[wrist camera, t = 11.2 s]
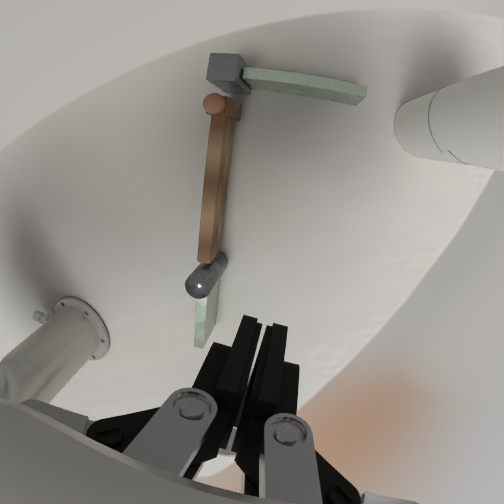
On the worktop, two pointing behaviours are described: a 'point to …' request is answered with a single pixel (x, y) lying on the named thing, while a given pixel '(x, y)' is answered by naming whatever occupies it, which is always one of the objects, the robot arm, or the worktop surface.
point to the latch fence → (278, 81)
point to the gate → (216, 173)
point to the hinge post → (206, 296)
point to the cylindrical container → (457, 122)
